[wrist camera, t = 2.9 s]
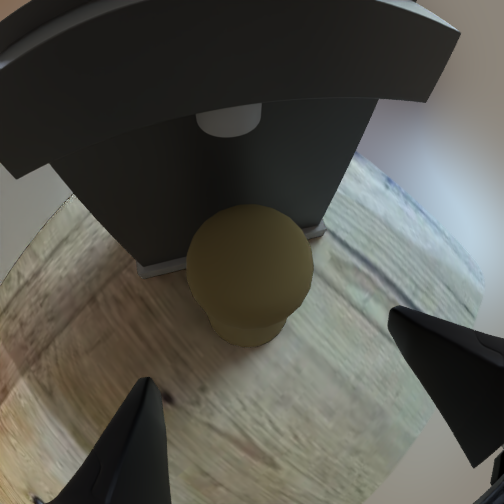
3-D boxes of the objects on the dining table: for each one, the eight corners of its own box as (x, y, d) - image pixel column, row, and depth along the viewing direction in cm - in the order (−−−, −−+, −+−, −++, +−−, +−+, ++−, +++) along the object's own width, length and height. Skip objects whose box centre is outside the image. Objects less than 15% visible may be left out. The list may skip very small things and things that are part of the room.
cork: (304, 302, 20) (362, 243, 10) (251, 364, 18) (260, 375, 8) (243, 252, 21) (243, 157, 11) (189, 309, 20) (134, 257, 9)
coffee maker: (333, 263, 21) (496, 25, 3) (147, 309, 20) (-90, 117, 1) (295, 169, 25) (342, -48, 6) (135, 205, 23) (33, -1, 4)
